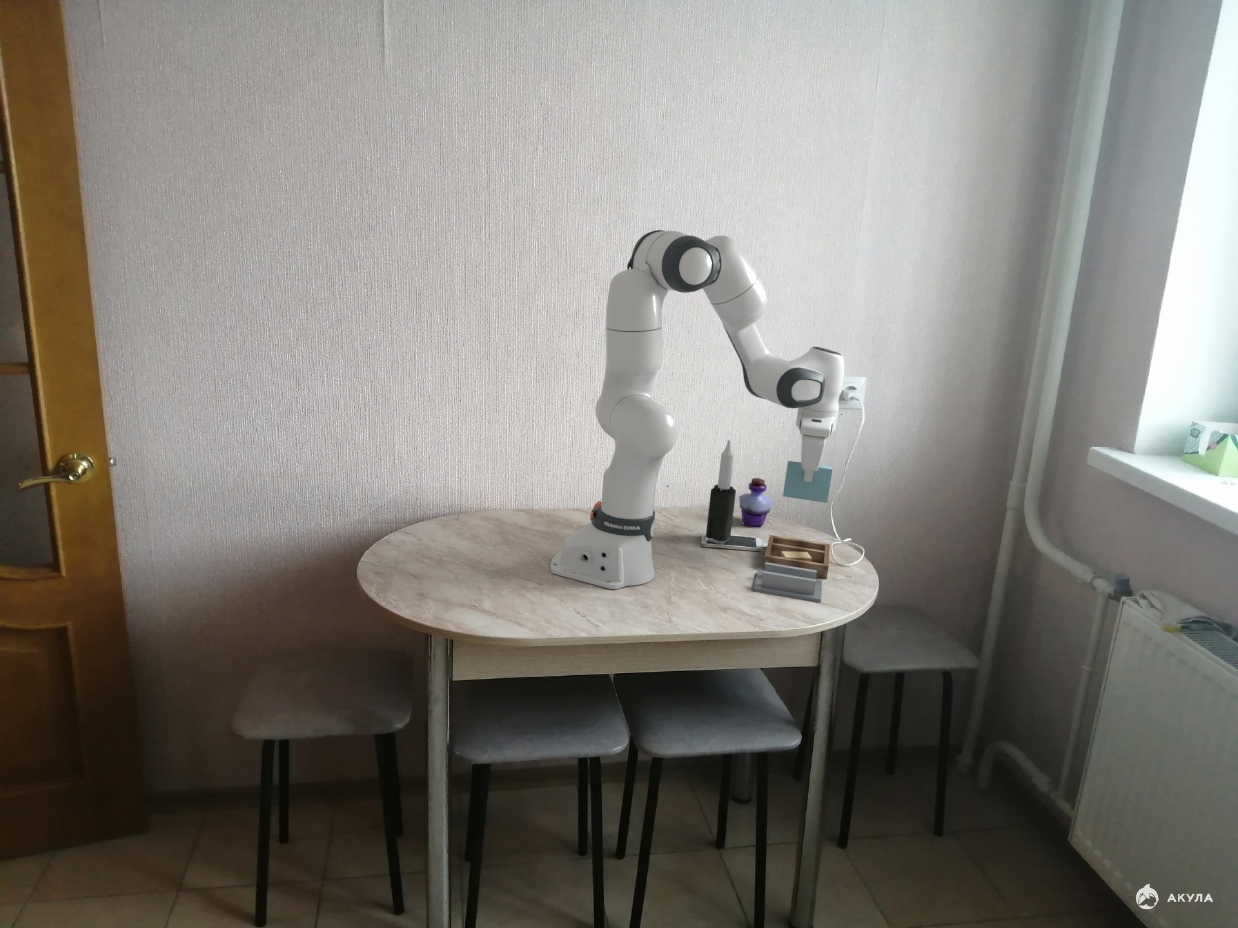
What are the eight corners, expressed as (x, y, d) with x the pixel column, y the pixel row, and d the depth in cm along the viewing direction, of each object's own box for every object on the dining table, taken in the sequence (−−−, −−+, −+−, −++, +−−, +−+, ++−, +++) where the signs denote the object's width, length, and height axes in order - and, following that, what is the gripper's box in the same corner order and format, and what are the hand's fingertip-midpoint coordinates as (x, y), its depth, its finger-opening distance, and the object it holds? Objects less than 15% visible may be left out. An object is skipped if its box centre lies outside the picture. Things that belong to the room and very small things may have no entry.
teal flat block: (782, 496, 203) (787, 462, 201) (783, 493, 205) (788, 460, 203) (827, 503, 201) (832, 469, 199) (827, 500, 203) (832, 467, 201)
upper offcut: (784, 564, 198) (785, 557, 198) (780, 558, 201) (781, 551, 201) (810, 565, 199) (811, 558, 198) (806, 559, 202) (807, 551, 202)
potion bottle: (770, 521, 229) (776, 477, 225) (768, 532, 221) (774, 486, 217) (737, 516, 230) (743, 472, 227) (734, 527, 222) (739, 481, 219)
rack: (763, 568, 198) (764, 556, 197) (768, 546, 211) (769, 534, 211) (826, 578, 195) (828, 566, 195) (827, 555, 208) (829, 544, 208)
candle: (731, 539, 214) (743, 440, 207) (723, 545, 210) (735, 444, 202) (711, 534, 216) (723, 435, 209) (703, 540, 212) (715, 440, 205)
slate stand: (753, 590, 186) (755, 575, 185) (757, 572, 196) (759, 557, 195) (820, 602, 183) (823, 586, 182) (821, 583, 193) (824, 568, 192)
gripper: (804, 408, 208) (796, 465, 212) (800, 428, 189) (791, 489, 193) (831, 412, 207) (822, 469, 211) (830, 432, 188) (820, 493, 192)
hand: (807, 479), depth 202 cm, fingers closed on teal flat block, 2 cm apart
